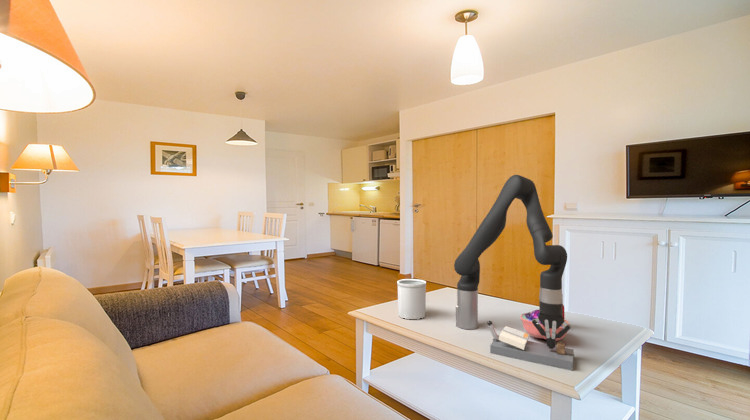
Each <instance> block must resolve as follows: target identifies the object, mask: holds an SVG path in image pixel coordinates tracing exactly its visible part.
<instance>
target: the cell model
mask: <svg viewBox="0 0 750 420" xmlns="http://www.w3.org/2000/svg"><path fill="white" fill-rule="evenodd" d="M538 315H539V309H534V310H532V311H531V312H530V311H529V312H524V313H522V314H520V317H519V318H520V321H522V327H523V329H524V330H525V332H526V333H527V334H529V336H531V337H533V338H536V339H544V340H546V341H547V338H546V337H545V336H542V335H541V334H540V332H539V331H538V330H537V329H536V327H535V326H534V325H533V323H532V320H533V319H536V318H538ZM564 321H565V322H566V323H567V324H570V322H569V321H568V320H567V319H565V318H564ZM539 322H540V320H539ZM540 326H541V327H542V328H543V329H544V331H545V332H546V330H545V327H544V326H543V325H542V323H541V322H540ZM562 329H563V324H562V325H561V326H560V327H559V328H558V329H556V334H557V333H559V332H560V331H561V330H562ZM567 333H568V331H567V332H566V333H565V334H564V335H563V336H562V337H561V338H556V342H557V341H558V342H559V341H560V340H562V339H563V338H565V337H566V336H567ZM550 334H551V336H552V329H551V328H550Z"/></svg>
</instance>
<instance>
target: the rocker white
mask: <svg viewBox="0 0 750 420" xmlns="http://www.w3.org/2000/svg"><path fill="white" fill-rule="evenodd" d="M502 331H504V332H507V333H509V334H512V335H515V336H517V337H520V338H522V339H525V340H527V341H529V338H530V335H529V334H528V333H527V332H525V331H521V330H518V329H515V328H512V327H510V326H506V325H505V326H504V328H503V329H502ZM526 343H527V342H526Z"/></svg>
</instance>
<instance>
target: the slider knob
mask: <svg viewBox="0 0 750 420" xmlns="http://www.w3.org/2000/svg"><path fill="white" fill-rule="evenodd" d="M556 346H557V353H558V354H563V355H564V354H565V348H566V343H565V342H564V341H559V340H558V341H556Z"/></svg>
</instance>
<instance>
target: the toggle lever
mask: <svg viewBox="0 0 750 420" xmlns="http://www.w3.org/2000/svg"><path fill="white" fill-rule="evenodd" d="M486 325H487V327H488V329H489V330H490V333H491V335H492V337H493V339H494V340H496V339H498V333H497V331H496V329H495V327H494V325H493V321H492V320H488V321H486Z"/></svg>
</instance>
